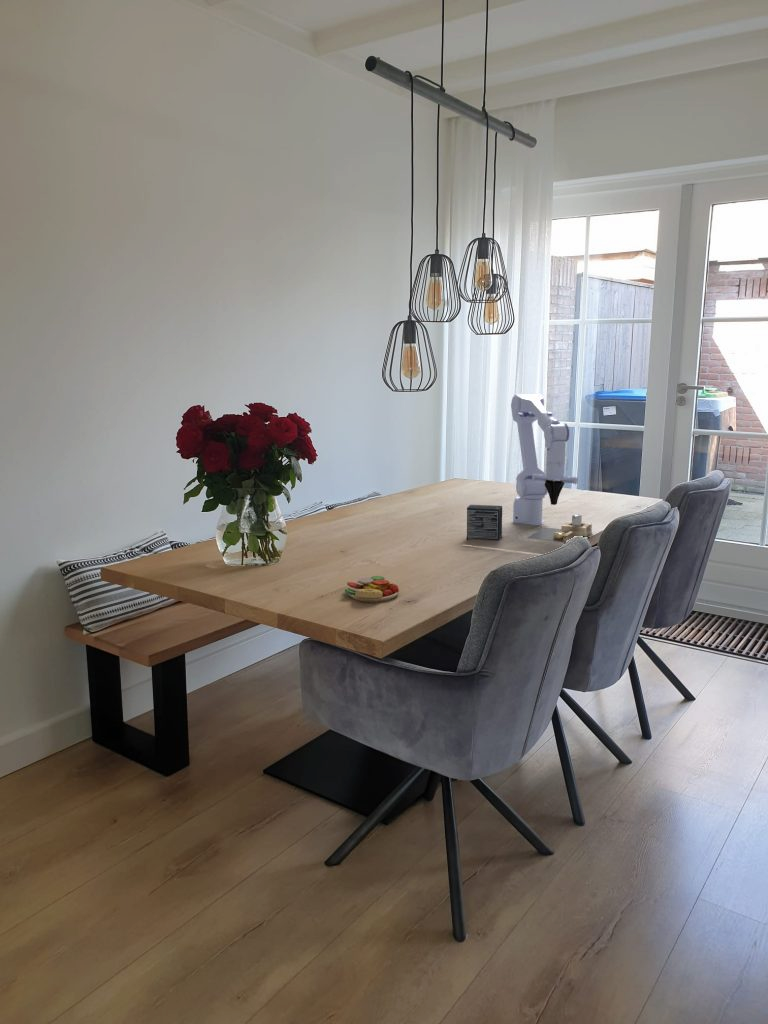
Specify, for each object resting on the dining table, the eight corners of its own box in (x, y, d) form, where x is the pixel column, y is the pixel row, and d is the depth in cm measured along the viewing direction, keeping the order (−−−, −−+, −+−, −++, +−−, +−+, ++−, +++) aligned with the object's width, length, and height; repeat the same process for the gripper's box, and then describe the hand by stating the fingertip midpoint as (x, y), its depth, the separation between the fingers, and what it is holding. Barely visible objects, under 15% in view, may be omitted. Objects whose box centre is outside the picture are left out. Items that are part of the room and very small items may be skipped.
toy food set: (364, 607, 193) (364, 594, 192) (334, 594, 203) (334, 581, 203) (409, 597, 200) (409, 584, 200) (378, 584, 211) (378, 572, 210)
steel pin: (569, 534, 262) (570, 515, 261) (573, 532, 265) (574, 514, 263) (578, 535, 261) (579, 516, 259) (582, 533, 263) (583, 515, 262)
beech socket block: (561, 534, 261) (561, 525, 261) (568, 530, 268) (568, 521, 267) (584, 537, 258) (585, 528, 257) (591, 532, 264) (591, 523, 264)
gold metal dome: (551, 539, 255) (551, 533, 255) (555, 536, 259) (556, 531, 258) (563, 541, 253) (564, 535, 253) (568, 538, 257) (568, 532, 256)
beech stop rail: (562, 541, 252) (563, 535, 252) (569, 537, 258) (569, 531, 257) (566, 542, 252) (566, 535, 251) (572, 537, 257) (573, 531, 257)
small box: (502, 537, 261) (503, 505, 259) (499, 542, 254) (500, 509, 252) (469, 535, 263) (470, 503, 261) (466, 540, 257) (466, 507, 255)
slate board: (526, 539, 258) (526, 537, 258) (544, 528, 272) (544, 527, 272) (573, 544, 250) (573, 543, 250) (589, 533, 265) (589, 532, 265)
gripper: (529, 462, 260) (527, 504, 262) (574, 465, 253) (572, 508, 255) (536, 459, 266) (535, 500, 268) (580, 462, 259) (578, 504, 261)
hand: (553, 504), depth 262 cm, fingers closed
